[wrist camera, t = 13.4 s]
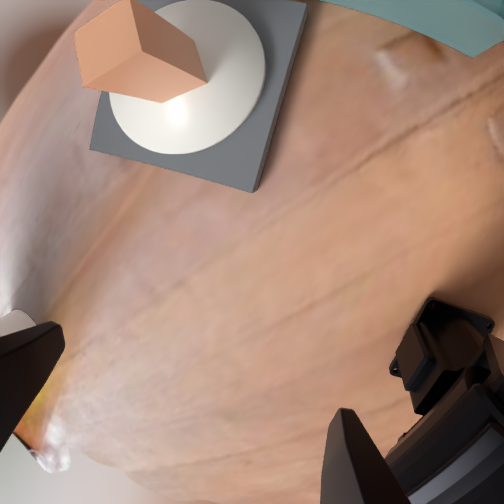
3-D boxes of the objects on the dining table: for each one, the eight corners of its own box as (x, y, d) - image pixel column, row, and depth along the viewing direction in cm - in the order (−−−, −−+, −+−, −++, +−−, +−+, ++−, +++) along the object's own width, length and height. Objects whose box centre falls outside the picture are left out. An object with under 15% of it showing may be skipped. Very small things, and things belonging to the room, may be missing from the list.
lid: (237, -18, 14) (190, -88, 7) (289, 122, 16) (262, 99, 9) (104, 47, 17) (22, 23, 10) (137, 176, 19) (49, 194, 12)
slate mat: (308, 13, 15) (306, 3, 14) (257, 190, 20) (251, 193, 18) (143, -1, 17) (133, -8, 15) (102, 148, 21) (89, 149, 20)
